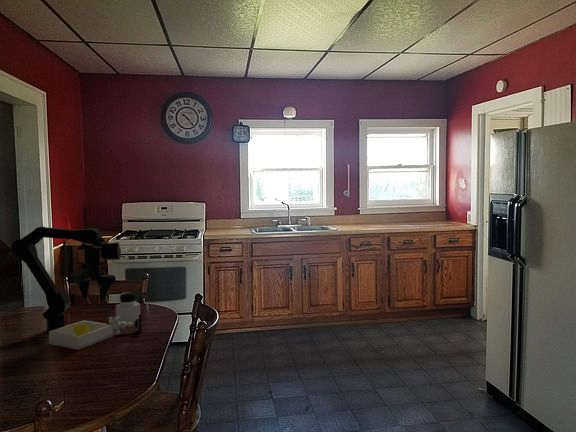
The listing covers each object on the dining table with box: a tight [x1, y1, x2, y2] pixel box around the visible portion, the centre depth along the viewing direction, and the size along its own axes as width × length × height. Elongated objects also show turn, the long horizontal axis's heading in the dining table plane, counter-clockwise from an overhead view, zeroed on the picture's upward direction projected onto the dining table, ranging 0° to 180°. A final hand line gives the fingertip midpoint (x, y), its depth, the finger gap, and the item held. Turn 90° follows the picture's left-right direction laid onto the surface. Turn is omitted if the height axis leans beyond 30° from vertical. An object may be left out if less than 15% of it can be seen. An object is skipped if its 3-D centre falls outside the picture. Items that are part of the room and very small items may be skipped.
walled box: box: [48, 319, 114, 351], centre depth 160 cm, size 15×15×4 cm
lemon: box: [73, 323, 90, 336], centre depth 160 cm, size 7×5×5 cm
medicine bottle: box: [115, 291, 141, 323], centre depth 184 cm, size 7×7×12 cm
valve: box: [108, 314, 143, 337], centre depth 168 cm, size 7×7×12 cm
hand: (93, 299), depth 172 cm, fingers open, 9 cm apart
